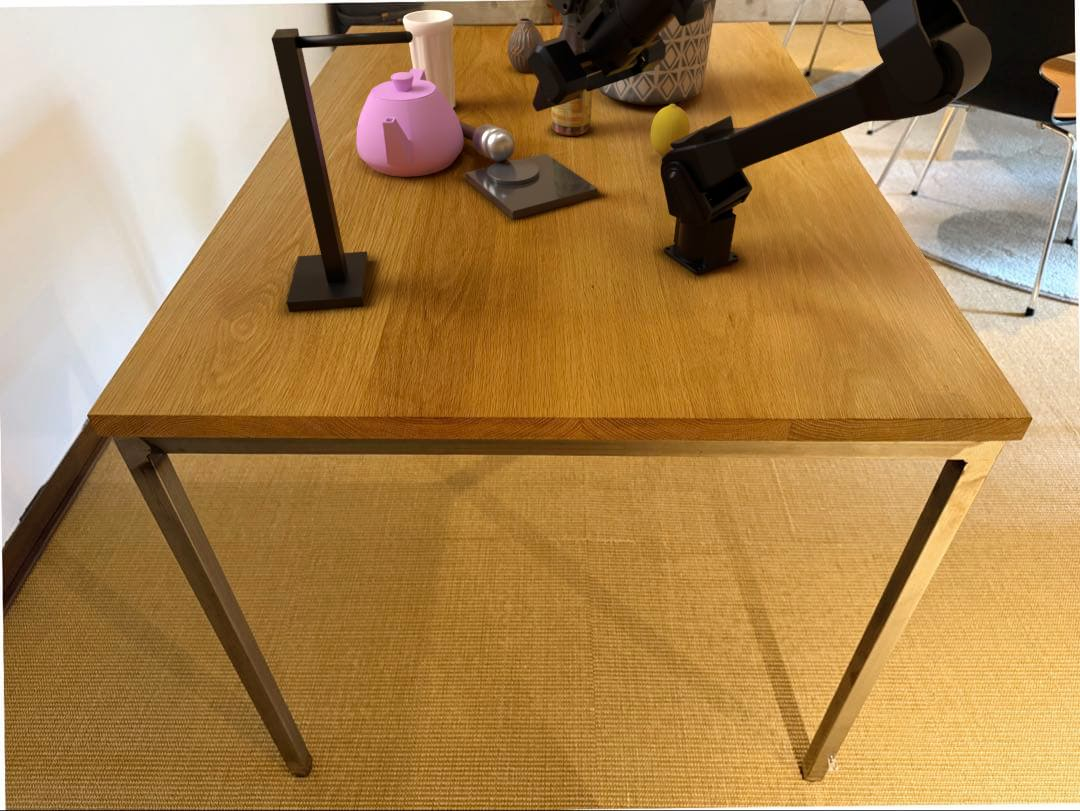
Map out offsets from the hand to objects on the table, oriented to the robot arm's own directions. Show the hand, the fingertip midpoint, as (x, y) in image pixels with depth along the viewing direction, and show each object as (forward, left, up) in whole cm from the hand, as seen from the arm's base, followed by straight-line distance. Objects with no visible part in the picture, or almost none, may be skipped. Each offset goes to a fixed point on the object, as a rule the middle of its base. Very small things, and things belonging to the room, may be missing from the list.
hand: (561, 97), depth 92 cm
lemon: (+4, -20, -14) cm, 25 cm away
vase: (+52, -23, -14) cm, 58 cm away
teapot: (+24, +12, -14) cm, 30 cm away
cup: (+42, 0, -14) cm, 44 cm away
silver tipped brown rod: (+10, +3, -9) cm, 14 cm away
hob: (+6, +2, -14) cm, 15 cm away
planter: (+28, -34, -14) cm, 46 cm away
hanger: (-6, +29, -14) cm, 33 cm away
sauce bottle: (+21, -14, -14) cm, 29 cm away
